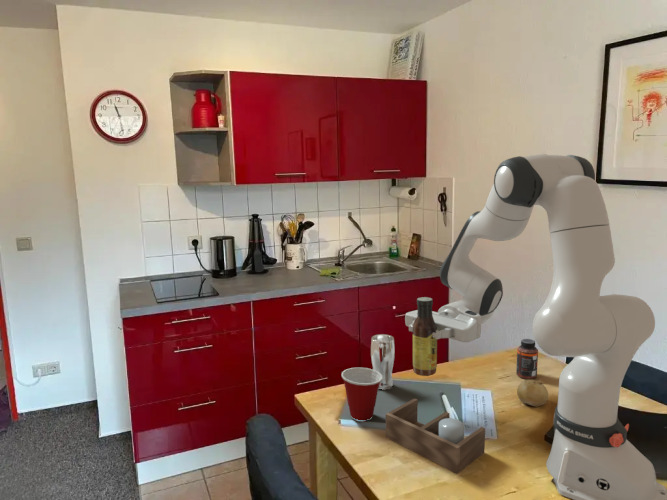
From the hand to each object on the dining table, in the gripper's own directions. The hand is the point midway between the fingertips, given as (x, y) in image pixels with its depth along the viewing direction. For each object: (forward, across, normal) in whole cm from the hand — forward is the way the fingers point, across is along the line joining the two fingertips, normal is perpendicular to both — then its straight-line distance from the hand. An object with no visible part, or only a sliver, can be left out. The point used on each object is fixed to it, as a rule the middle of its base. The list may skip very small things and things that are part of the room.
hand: (422, 332), depth 129 cm
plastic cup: (+12, -10, +23) cm, 28 cm away
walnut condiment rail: (+11, +12, +23) cm, 28 cm away
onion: (-26, +18, +23) cm, 39 cm away
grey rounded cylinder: (+11, +17, +22) cm, 30 cm away
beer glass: (-5, -18, +23) cm, 30 cm away
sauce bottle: (-1, 0, +11) cm, 11 cm away
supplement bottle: (-41, +9, +23) cm, 48 cm away
